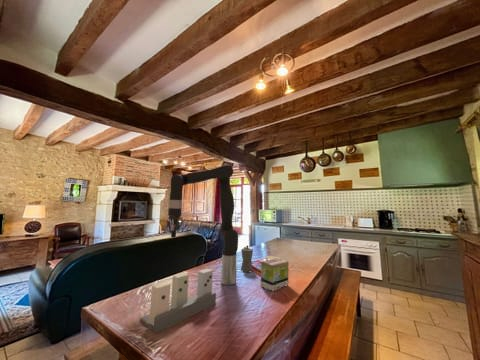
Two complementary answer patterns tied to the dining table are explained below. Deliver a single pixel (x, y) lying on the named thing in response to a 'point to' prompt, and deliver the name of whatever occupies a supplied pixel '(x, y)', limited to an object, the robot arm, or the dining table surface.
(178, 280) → the tile two
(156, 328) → the tile stand
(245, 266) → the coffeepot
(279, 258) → the candle holder
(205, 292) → the tile three
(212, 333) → the dining table surface
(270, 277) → the tea box
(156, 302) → the tile one
